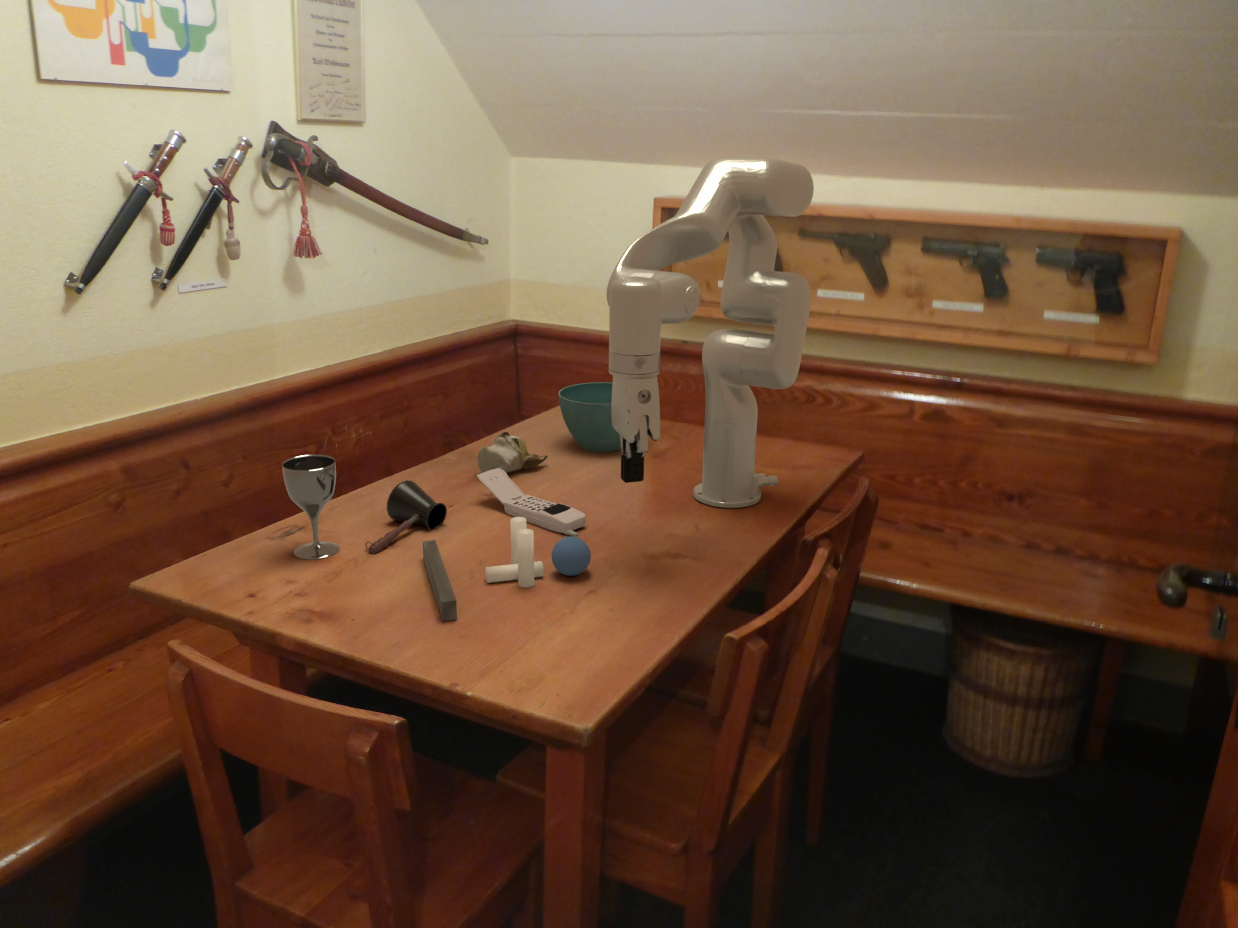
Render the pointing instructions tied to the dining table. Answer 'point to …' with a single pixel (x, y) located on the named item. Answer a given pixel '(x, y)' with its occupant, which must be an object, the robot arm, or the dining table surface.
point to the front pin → (509, 572)
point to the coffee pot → (409, 512)
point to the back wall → (439, 581)
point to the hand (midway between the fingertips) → (632, 480)
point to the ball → (571, 556)
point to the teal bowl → (590, 416)
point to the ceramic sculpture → (507, 455)
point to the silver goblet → (311, 496)
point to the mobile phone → (532, 505)
